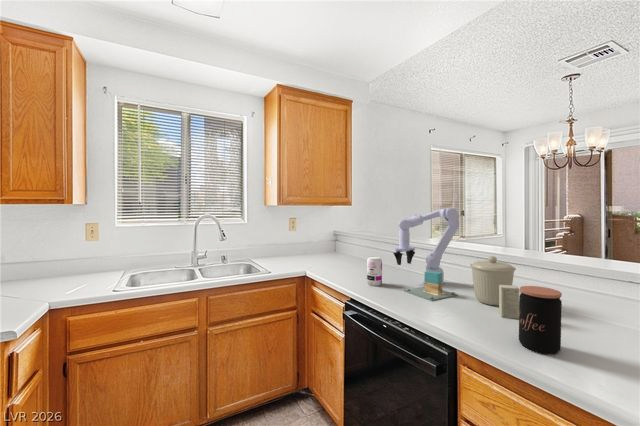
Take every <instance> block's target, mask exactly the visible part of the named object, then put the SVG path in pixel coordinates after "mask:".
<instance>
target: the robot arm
mask: <svg viewBox="0 0 640 426" xmlns="http://www.w3.org/2000/svg"><path fill="white" fill-rule="evenodd" d="M459 217H460V214H459V212H458V210H457V209H456V208H454V207H446V208H441V209H437V210H434V211H431V212H429V213H426V214H423V215H421V214H417V213H415V214H414V215H413V216H411V217H406V218H405V219H401V220H400V221H399V223H398V227H399V229H398V231H399V236H398V239H399V241H398V243H399V244H398V247H396V248H393V251H392V253H393V254H392V255H394V257H395V260H396V264H397V266H401V265H402V259H403V258H402V256H403V255H404V253H406V263H407V264H409V265H411V264H412V261H413V258H414V255H415V253H416V251H415V250H416V247H414V246H410V238H411V237H410V236H411V235H410V228H415V227H418V226H420V225H423V223H424V222H425V221H429V220H432V219H435V218H444V219H445V221H446V223H447V225H448V226H447V227H446V229H445V230H444V232H443V234H442V236H441V237H440V239H439V240H438V243H437V244H436V246H435V248H434V249H433V250H432V251H431V253H430V254H429V255H427V256H426V257H425V262H426V266H425V272H426V271H435V272H441V273H442V283H443V285H444V284H445V279H444V274H445V273H444V270H443V268H442V267H440V265H441V260H442V258H443V254H444V252H445V251H446V249H447V247H448V246H449V245H450V242H452V240H453V238H454V235H455V234H456V233H457V231H458V229H459V227H460V221H459ZM403 252H404V253H403ZM422 283H423V284H425V282H424V280H423V281H422Z"/></svg>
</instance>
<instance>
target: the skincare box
mask: <svg viewBox="0 0 640 426" xmlns="http://www.w3.org/2000/svg"><path fill="white" fill-rule="evenodd" d="M519 296H520V287H518V286H517V285H514V284H512V285H499V306H498V314H499V316H500V317H501V318H506V319H516V320H519Z"/></svg>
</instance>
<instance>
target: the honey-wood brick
mask: <svg viewBox="0 0 640 426" xmlns="http://www.w3.org/2000/svg"><path fill="white" fill-rule="evenodd" d="M443 285H444V284H443V283H440V284H434V283H429V282H425V283H424V286H425V292H429V293H434V294H440V293H442V290H443Z"/></svg>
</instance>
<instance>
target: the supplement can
mask: <svg viewBox="0 0 640 426" xmlns="http://www.w3.org/2000/svg"><path fill="white" fill-rule="evenodd" d="M366 283H367V285H368V286H371V287H379V286H381V285H382V284H383V260H382V258H381V257H380V256H368V257H367V260H366Z"/></svg>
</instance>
